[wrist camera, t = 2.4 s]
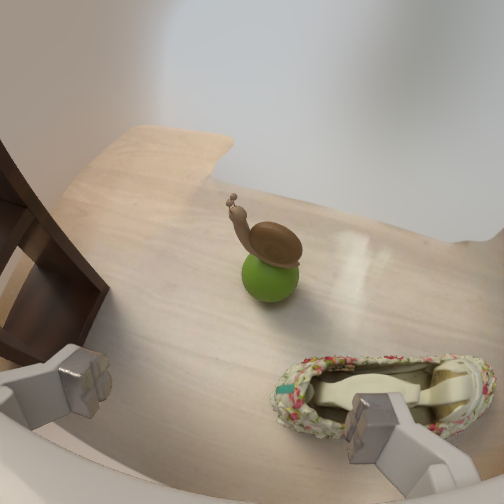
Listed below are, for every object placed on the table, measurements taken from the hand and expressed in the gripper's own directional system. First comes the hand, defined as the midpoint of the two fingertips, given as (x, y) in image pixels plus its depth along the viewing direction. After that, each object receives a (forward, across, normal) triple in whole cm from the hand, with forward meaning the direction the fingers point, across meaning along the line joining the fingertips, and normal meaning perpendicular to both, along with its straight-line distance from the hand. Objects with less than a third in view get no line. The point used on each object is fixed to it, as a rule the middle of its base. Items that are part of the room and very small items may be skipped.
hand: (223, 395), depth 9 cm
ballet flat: (+15, -14, +12) cm, 24 cm away
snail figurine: (+23, 0, +4) cm, 23 cm away
